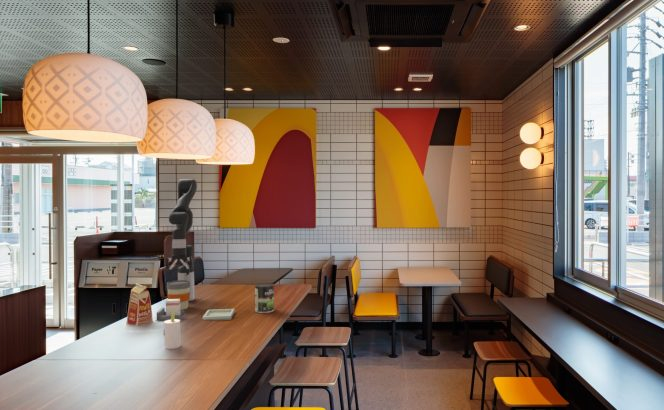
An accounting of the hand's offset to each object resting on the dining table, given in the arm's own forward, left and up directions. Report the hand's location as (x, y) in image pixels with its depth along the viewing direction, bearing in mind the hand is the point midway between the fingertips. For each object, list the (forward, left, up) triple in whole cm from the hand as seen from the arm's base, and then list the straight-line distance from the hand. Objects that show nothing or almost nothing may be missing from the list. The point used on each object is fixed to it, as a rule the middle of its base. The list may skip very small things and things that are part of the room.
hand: (179, 275), depth 243 cm
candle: (+67, +14, -18) cm, 71 cm away
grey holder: (+24, +2, -18) cm, 30 cm away
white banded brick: (+24, +3, -17) cm, 30 cm away
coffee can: (+16, +49, -18) cm, 54 cm away
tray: (+24, +26, -18) cm, 39 cm away
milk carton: (+31, -11, -18) cm, 38 cm away
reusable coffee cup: (+5, +1, -18) cm, 19 cm away
